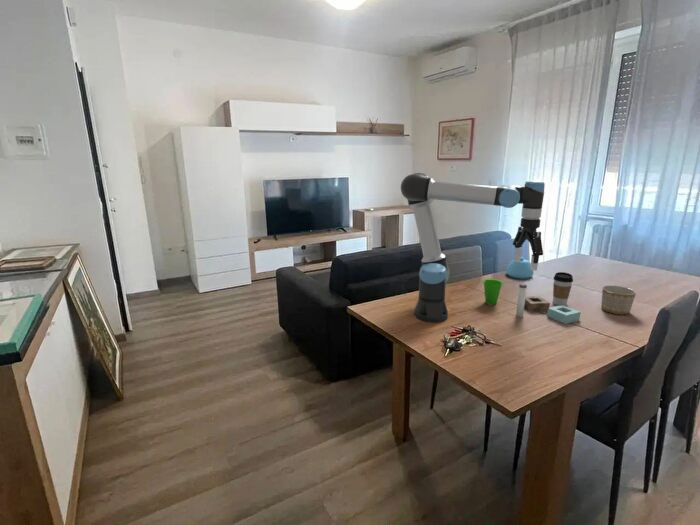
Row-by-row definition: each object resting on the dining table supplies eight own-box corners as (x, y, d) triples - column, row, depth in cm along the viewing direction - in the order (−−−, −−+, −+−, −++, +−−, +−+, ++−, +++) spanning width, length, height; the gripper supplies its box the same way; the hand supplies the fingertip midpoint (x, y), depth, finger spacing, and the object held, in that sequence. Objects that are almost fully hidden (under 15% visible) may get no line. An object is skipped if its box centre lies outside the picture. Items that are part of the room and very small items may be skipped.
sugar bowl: (537, 279, 221) (539, 260, 218) (512, 279, 221) (514, 260, 218) (526, 272, 236) (528, 254, 232) (502, 272, 236) (504, 254, 233)
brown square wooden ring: (530, 311, 175) (531, 303, 174) (520, 304, 183) (521, 296, 182) (548, 310, 175) (550, 302, 174) (538, 303, 184) (539, 296, 183)
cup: (502, 306, 181) (504, 285, 178) (482, 305, 183) (484, 284, 180) (498, 300, 189) (500, 279, 187) (480, 298, 191) (482, 278, 188)
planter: (602, 303, 183) (606, 283, 180) (634, 310, 174) (638, 289, 172) (595, 311, 175) (599, 290, 172) (628, 318, 166) (633, 296, 163)
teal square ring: (565, 323, 161) (566, 315, 160) (547, 316, 169) (548, 308, 168) (579, 320, 165) (580, 311, 164) (561, 312, 173) (562, 304, 172)
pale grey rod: (517, 317, 169) (521, 286, 165) (514, 314, 171) (518, 283, 167) (524, 317, 169) (528, 285, 165) (521, 314, 172) (524, 283, 168)
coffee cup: (568, 301, 186) (573, 273, 182) (570, 307, 179) (574, 278, 175) (549, 299, 189) (553, 271, 185) (550, 305, 182) (554, 275, 178)
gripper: (557, 222, 147) (549, 273, 153) (523, 213, 171) (518, 258, 177) (539, 222, 147) (532, 274, 152) (508, 214, 171) (503, 258, 176)
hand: (524, 265), depth 165 cm, fingers open, 13 cm apart
